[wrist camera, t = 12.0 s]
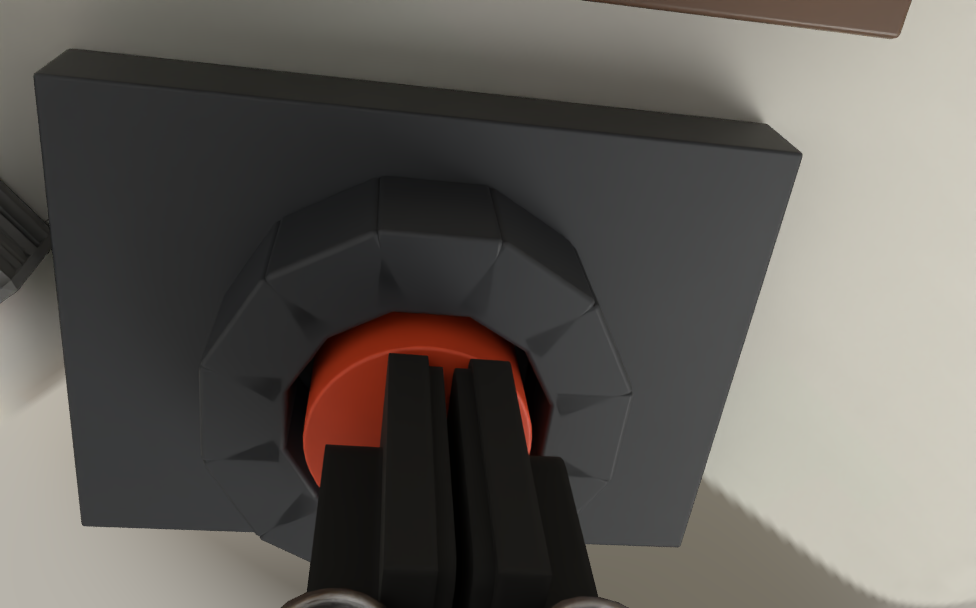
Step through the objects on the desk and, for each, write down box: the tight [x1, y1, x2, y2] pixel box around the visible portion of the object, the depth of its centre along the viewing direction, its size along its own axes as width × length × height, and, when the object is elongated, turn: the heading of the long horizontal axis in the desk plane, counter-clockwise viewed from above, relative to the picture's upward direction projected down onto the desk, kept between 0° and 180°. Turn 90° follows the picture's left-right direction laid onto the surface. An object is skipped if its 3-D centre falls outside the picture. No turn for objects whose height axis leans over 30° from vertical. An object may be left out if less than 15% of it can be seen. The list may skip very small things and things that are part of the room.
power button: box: [303, 312, 532, 487], centre depth 13 cm, size 3×3×2 cm
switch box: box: [33, 49, 802, 562], centre depth 14 cm, size 11×8×4 cm
